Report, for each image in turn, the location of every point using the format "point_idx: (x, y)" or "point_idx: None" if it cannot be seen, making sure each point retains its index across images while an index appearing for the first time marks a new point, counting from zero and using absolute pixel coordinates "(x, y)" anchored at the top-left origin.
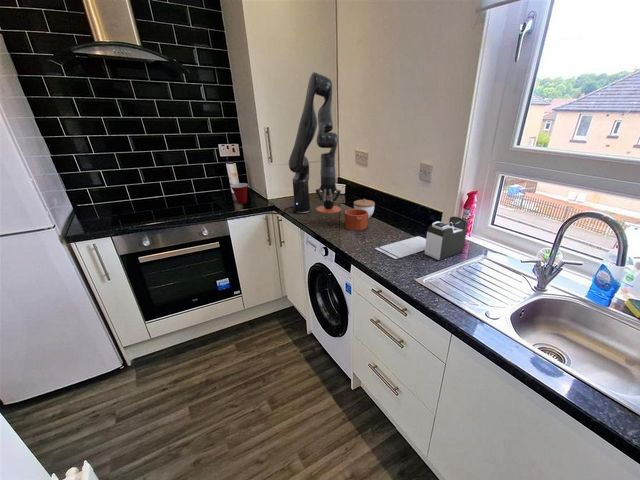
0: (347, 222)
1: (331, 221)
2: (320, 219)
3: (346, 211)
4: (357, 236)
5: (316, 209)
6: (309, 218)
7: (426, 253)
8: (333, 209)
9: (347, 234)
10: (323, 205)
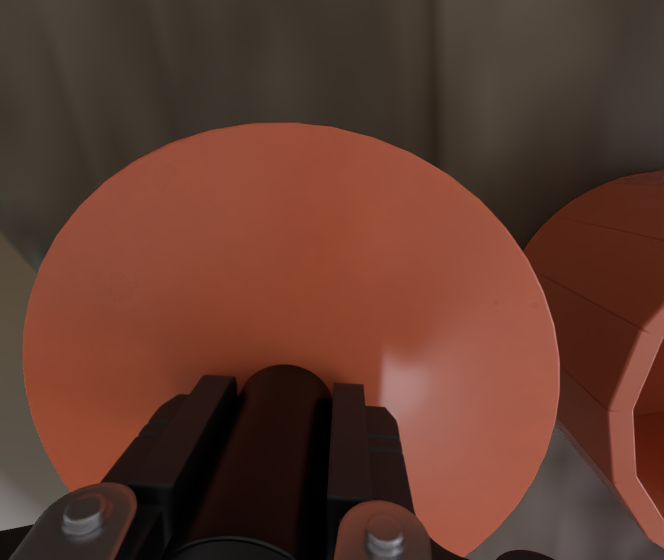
0: (567, 437)
1: (326, 114)
2: (165, 40)
3: (647, 371)
4: (609, 543)
5: (64, 482)
6: (7, 11)
7: None
8: None
9: (518, 505)
10: (116, 179)
